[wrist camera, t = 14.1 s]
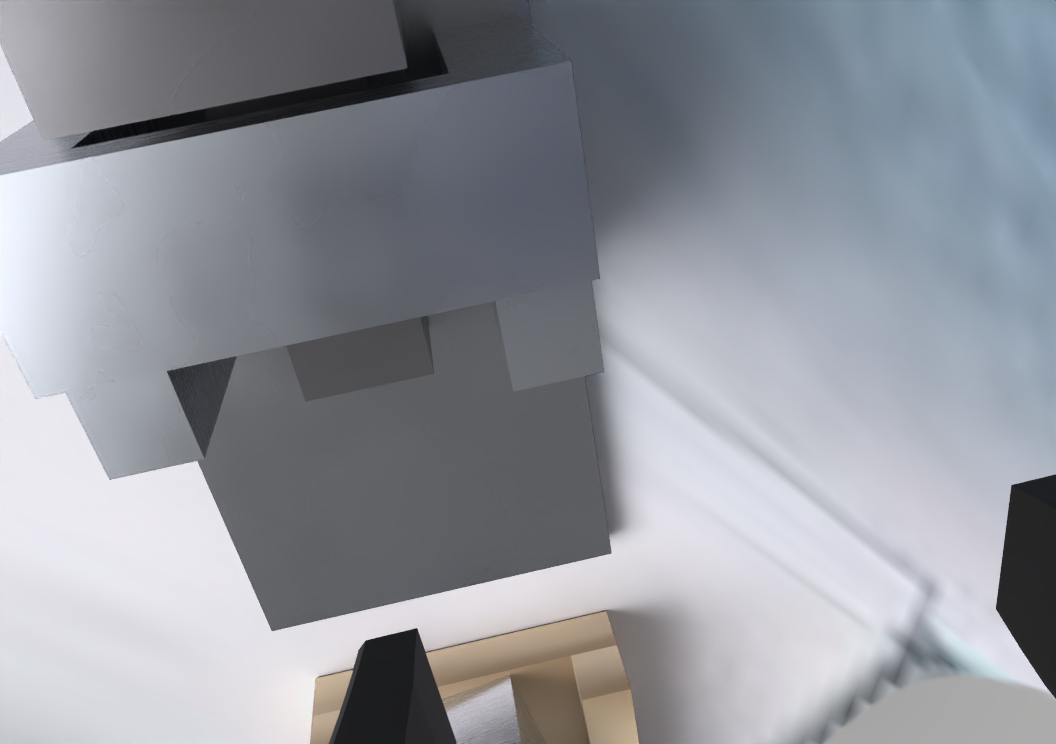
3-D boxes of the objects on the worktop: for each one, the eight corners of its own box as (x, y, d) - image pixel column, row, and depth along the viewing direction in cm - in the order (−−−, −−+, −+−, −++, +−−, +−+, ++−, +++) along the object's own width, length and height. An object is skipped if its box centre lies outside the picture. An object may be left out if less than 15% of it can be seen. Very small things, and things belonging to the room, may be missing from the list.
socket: (-214, -526, 11) (-646, -832, 6) (427, -630, 12) (458, -986, 7) (274, 613, 21) (244, 815, 17) (606, 537, 22) (667, 713, 17)
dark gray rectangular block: (102, -109, 13) (-69, -111, 8) (362, -156, 13) (350, -188, 8) (272, 364, 17) (228, 556, 12) (468, 323, 18) (503, 494, 12)
